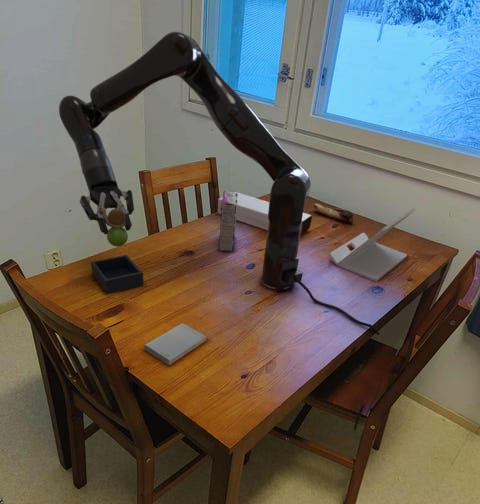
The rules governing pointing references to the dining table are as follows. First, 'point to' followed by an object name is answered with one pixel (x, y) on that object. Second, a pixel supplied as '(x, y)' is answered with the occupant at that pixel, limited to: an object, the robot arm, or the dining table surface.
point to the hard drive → (175, 343)
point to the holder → (117, 274)
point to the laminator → (257, 212)
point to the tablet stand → (369, 254)
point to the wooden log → (335, 213)
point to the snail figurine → (115, 226)
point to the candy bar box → (228, 221)
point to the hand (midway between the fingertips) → (117, 231)
